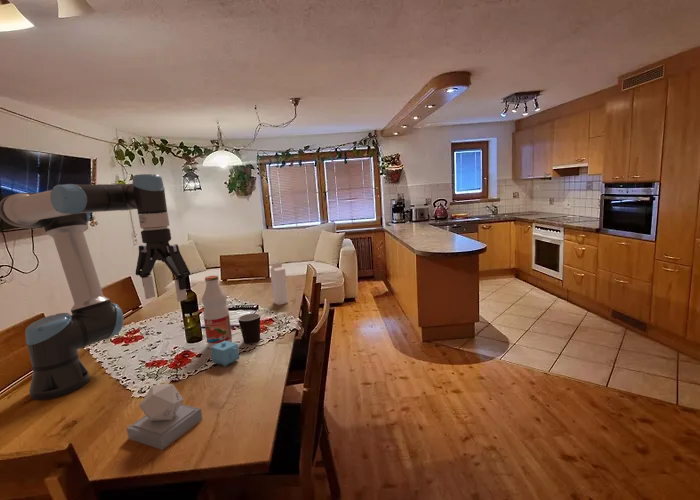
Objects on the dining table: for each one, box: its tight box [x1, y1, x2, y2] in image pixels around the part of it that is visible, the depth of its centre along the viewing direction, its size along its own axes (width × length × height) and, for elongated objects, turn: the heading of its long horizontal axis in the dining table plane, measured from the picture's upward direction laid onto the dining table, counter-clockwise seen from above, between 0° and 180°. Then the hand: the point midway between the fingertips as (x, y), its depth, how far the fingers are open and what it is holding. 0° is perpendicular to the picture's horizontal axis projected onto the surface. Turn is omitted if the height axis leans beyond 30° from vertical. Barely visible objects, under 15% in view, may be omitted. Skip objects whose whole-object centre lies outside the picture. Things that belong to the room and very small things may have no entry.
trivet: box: [126, 403, 203, 451], centre depth 90 cm, size 12×12×3 cm
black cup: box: [237, 313, 261, 345], centre depth 145 cm, size 12×9×10 cm
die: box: [138, 383, 184, 421], centre depth 89 cm, size 8×9×10 cm
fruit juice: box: [201, 274, 233, 349], centre depth 140 cm, size 9×9×28 cm
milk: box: [269, 262, 289, 306], centre depth 193 cm, size 6×6×22 cm
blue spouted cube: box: [210, 341, 240, 368], centre depth 125 cm, size 12×6×8 cm, turn 56°
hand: (166, 299), depth 106 cm, fingers open, 13 cm apart
